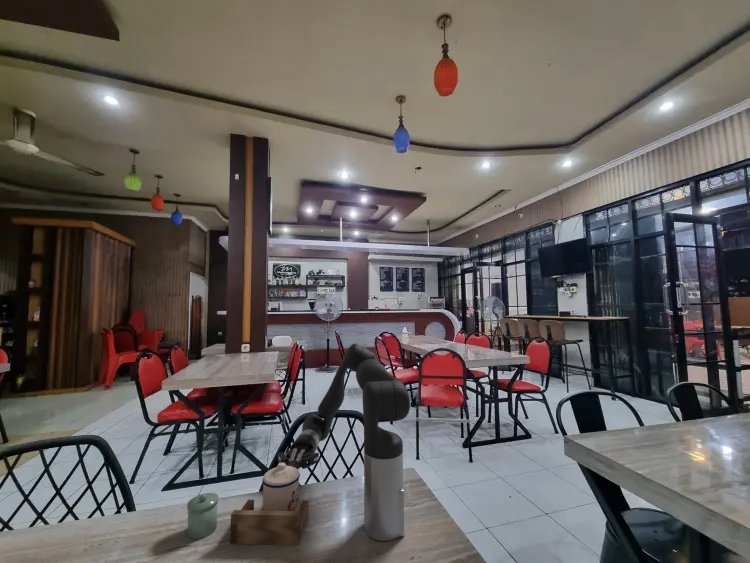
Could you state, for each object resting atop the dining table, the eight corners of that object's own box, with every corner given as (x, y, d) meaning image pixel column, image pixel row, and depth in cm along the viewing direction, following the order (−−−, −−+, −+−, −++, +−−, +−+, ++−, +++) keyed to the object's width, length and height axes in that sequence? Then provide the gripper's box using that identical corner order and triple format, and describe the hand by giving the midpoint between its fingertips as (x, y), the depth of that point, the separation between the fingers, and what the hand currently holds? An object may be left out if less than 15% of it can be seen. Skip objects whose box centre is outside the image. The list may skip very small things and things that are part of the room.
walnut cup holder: (308, 517, 78) (308, 491, 79) (298, 544, 70) (298, 515, 70) (247, 516, 79) (248, 491, 79) (230, 543, 70) (230, 514, 71)
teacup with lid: (294, 524, 76) (295, 472, 77) (256, 524, 76) (257, 473, 77) (304, 494, 88) (305, 450, 89) (271, 495, 88) (272, 451, 89)
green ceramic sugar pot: (222, 520, 78) (223, 486, 78) (209, 539, 71) (210, 501, 72) (196, 521, 77) (197, 487, 78) (180, 540, 71) (181, 502, 72)
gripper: (285, 433, 106) (266, 457, 89) (325, 433, 106) (313, 458, 89) (285, 457, 106) (265, 486, 88) (325, 457, 105) (313, 486, 88)
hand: (289, 472), depth 88 cm, fingers closed
